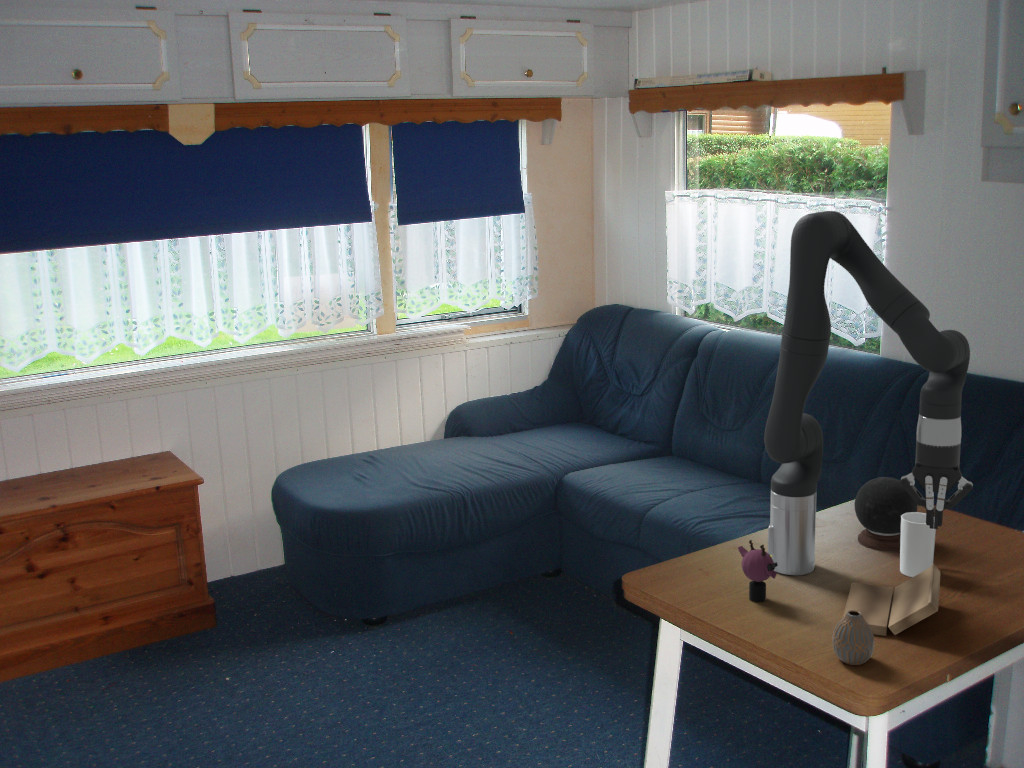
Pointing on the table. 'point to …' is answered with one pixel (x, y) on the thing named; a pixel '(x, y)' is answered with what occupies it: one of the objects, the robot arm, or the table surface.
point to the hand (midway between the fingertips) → (933, 527)
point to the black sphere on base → (882, 513)
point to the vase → (853, 639)
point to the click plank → (915, 600)
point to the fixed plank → (871, 605)
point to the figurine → (757, 570)
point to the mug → (916, 544)
